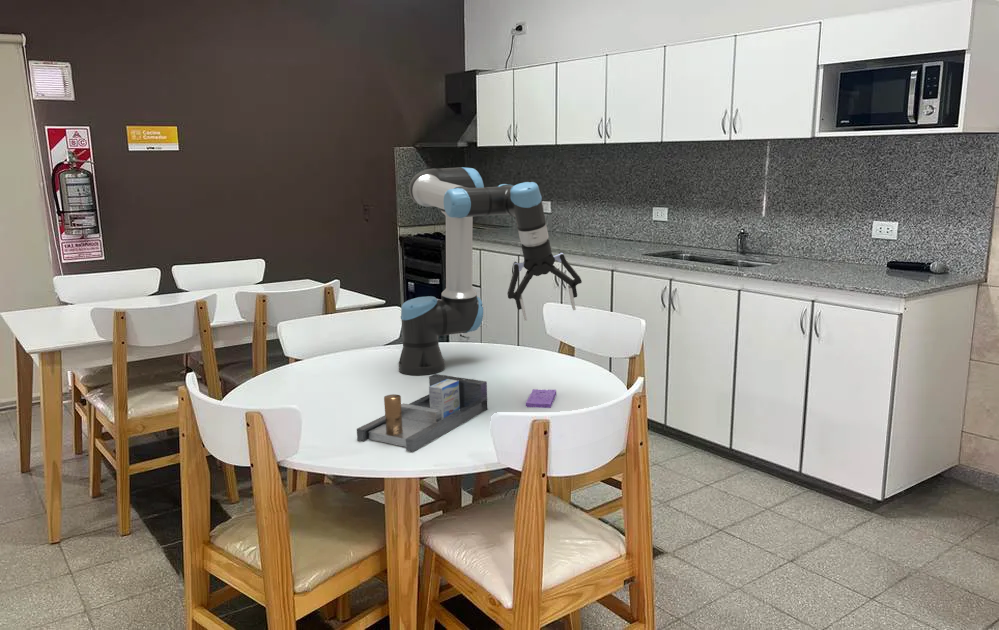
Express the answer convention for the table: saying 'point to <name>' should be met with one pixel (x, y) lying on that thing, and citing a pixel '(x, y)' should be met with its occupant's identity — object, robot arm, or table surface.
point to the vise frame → (470, 406)
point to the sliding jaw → (403, 421)
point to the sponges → (541, 398)
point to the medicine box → (445, 397)
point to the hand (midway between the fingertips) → (549, 313)
